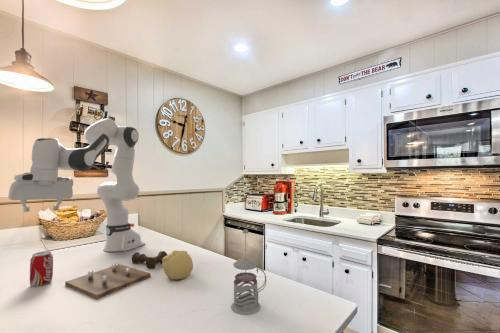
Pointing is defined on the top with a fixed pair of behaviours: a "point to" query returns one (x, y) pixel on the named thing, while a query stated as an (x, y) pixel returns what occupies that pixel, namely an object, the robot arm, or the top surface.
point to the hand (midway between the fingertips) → (41, 210)
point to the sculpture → (177, 265)
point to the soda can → (41, 268)
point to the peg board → (107, 280)
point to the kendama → (149, 259)
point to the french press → (246, 301)
